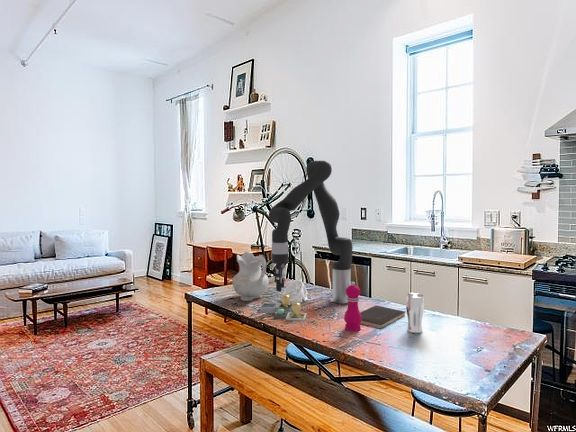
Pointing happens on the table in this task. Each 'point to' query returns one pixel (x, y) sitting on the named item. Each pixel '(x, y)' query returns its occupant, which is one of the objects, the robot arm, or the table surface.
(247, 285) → the ceramic pitcher
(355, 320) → the pepper mill
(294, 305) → the billet
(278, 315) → the console
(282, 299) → the billet
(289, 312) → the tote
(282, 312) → the button
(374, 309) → the hardcover book
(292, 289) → the skull bowl
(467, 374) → the table surface
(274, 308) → the tray
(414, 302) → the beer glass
